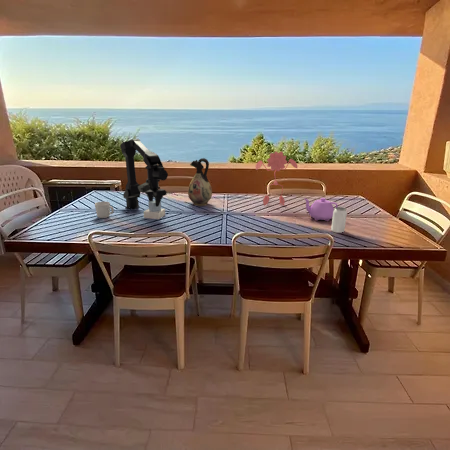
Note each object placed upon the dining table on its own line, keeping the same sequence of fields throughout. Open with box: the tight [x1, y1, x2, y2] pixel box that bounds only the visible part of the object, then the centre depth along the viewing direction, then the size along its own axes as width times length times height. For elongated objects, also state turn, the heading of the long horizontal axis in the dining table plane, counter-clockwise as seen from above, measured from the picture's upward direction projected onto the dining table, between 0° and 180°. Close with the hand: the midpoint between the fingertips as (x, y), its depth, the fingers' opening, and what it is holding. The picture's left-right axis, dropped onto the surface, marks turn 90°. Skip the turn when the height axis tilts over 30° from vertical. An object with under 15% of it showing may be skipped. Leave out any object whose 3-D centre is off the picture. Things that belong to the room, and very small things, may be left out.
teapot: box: [303, 197, 339, 222], centre depth 196 cm, size 20×14×12 cm
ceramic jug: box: [187, 157, 213, 207], centre depth 219 cm, size 17×15×30 cm
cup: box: [94, 201, 115, 219], centre depth 192 cm, size 11×8×8 cm
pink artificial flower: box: [255, 150, 298, 211], centre depth 216 cm, size 15×26×35 cm, turn 89°
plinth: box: [143, 208, 166, 220], centre depth 196 cm, size 9×9×4 cm
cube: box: [147, 199, 162, 212], centre depth 195 cm, size 5×5×5 cm
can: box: [330, 206, 348, 234], centre depth 176 cm, size 6×6×12 cm
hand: (154, 205), depth 195 cm, fingers open, 7 cm apart
